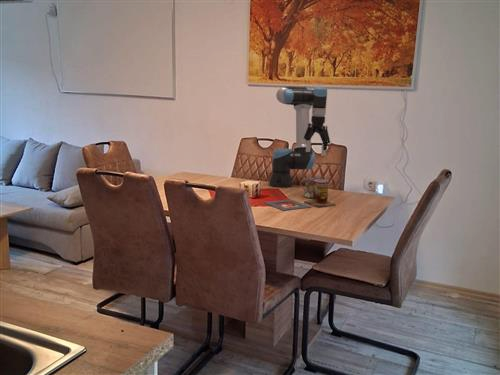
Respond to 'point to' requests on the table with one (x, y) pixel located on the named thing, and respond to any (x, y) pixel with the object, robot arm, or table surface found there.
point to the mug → (308, 187)
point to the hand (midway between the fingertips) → (315, 153)
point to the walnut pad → (319, 204)
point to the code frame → (274, 204)
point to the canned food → (320, 191)
